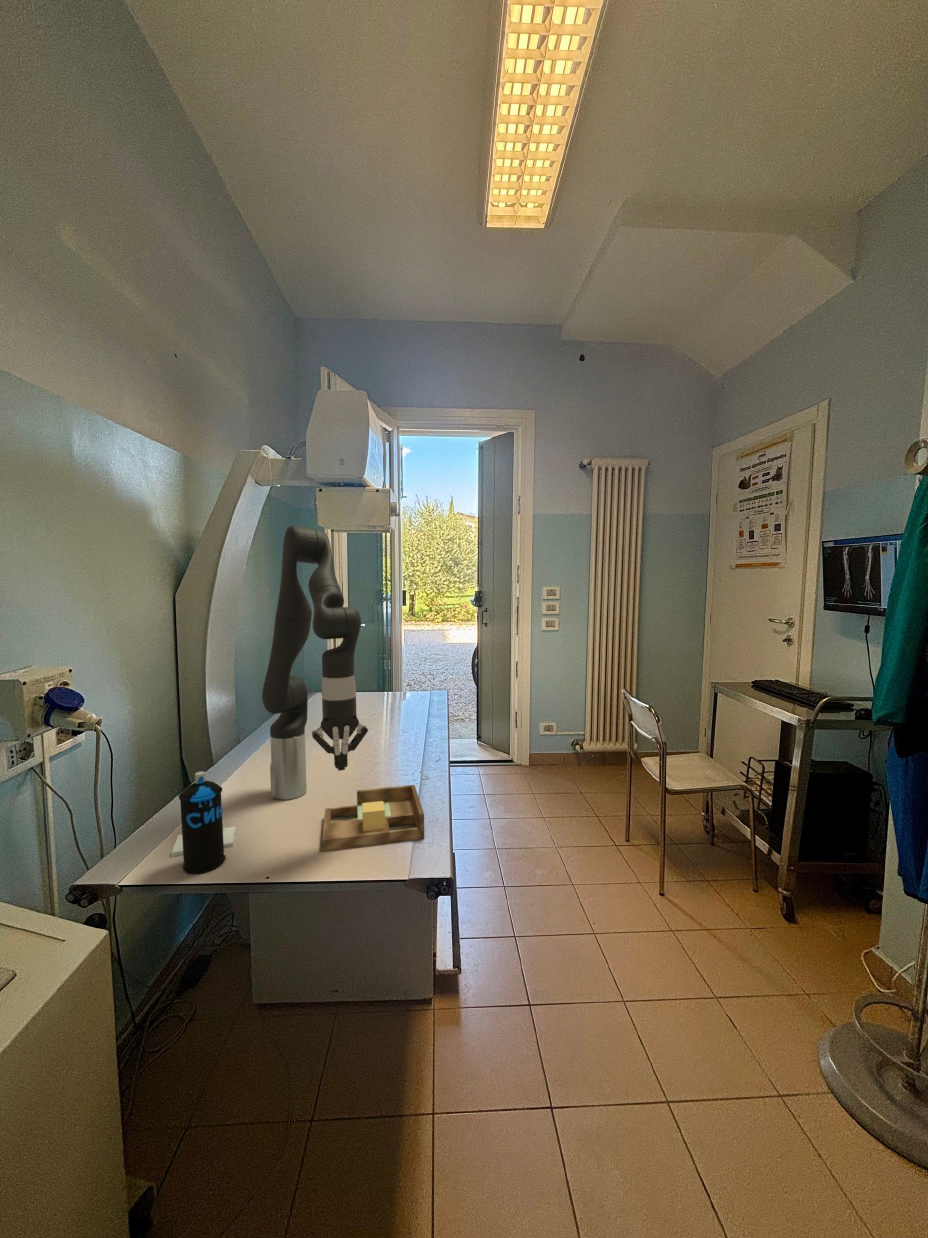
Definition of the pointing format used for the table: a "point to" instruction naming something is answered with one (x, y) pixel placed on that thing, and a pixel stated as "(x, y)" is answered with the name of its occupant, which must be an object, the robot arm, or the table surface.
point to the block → (373, 816)
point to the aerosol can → (202, 826)
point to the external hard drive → (227, 841)
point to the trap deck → (399, 819)
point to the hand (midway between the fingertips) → (341, 769)
